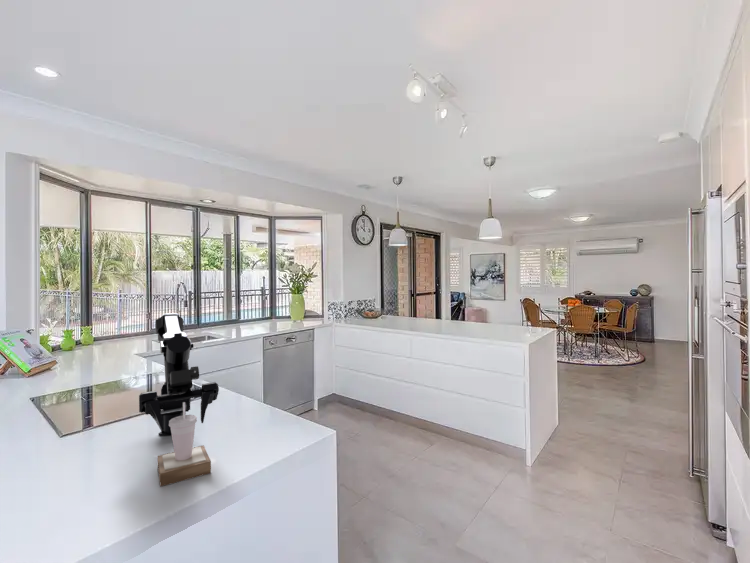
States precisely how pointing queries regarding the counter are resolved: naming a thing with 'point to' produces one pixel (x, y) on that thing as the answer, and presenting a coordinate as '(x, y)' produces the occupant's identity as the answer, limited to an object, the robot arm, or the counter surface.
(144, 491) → the counter surface
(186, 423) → the smoothie
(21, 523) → the counter surface
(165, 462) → the plinth
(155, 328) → the robot arm
